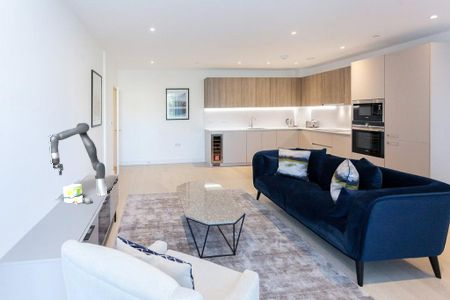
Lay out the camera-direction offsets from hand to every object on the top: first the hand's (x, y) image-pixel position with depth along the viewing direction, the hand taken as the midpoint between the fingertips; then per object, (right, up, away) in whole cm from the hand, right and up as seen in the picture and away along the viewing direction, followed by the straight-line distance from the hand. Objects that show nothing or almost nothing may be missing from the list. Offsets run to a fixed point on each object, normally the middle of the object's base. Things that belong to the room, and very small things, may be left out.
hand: (56, 175), depth 326 cm
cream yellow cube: (+15, -24, +7) cm, 29 cm away
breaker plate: (+20, -26, +7) cm, 34 cm away
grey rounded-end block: (+28, -26, +3) cm, 38 cm away
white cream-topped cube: (+20, -25, +2) cm, 32 cm away
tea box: (+8, -26, +18) cm, 32 cm away
